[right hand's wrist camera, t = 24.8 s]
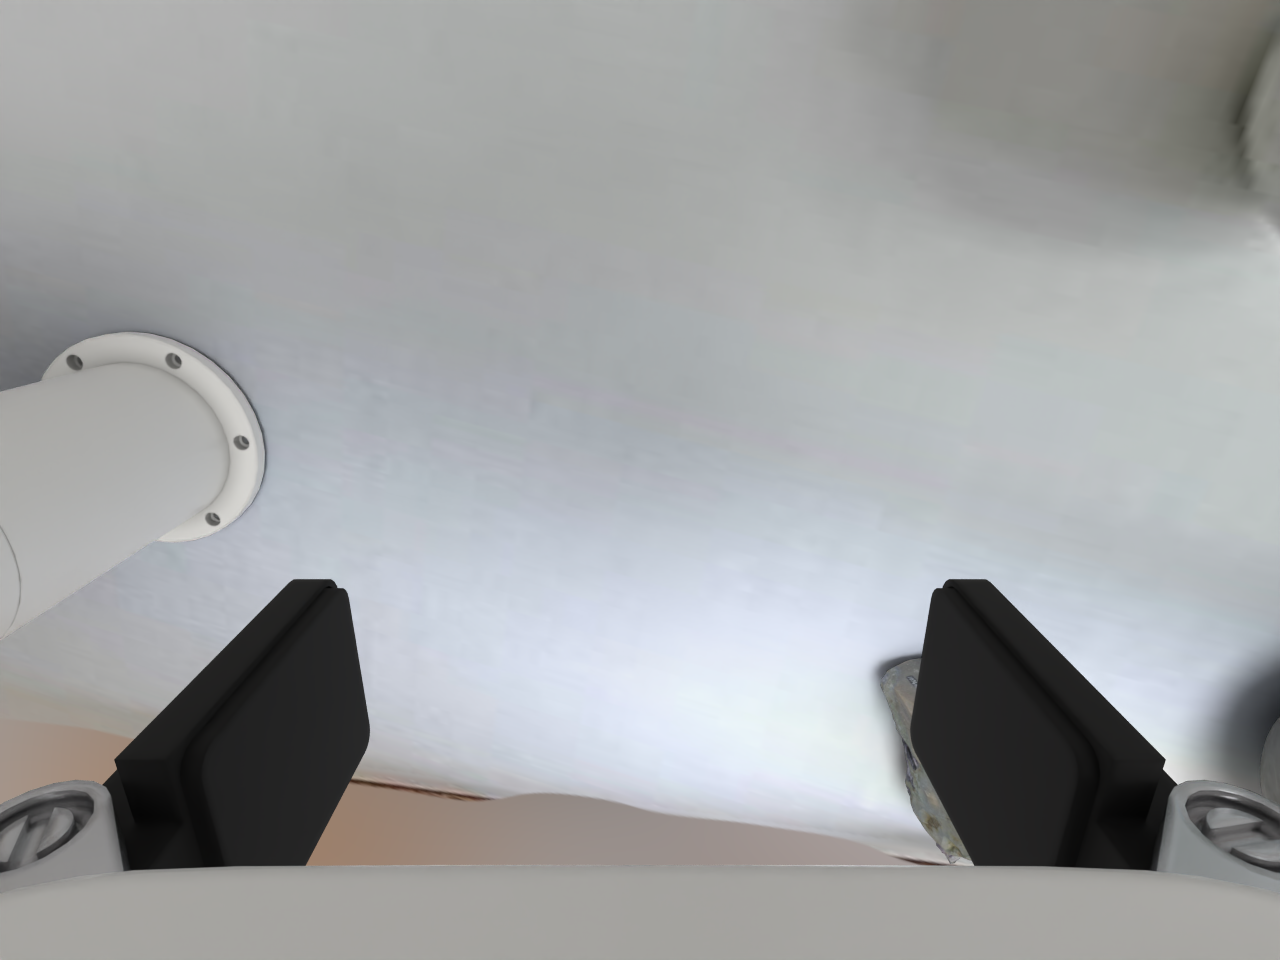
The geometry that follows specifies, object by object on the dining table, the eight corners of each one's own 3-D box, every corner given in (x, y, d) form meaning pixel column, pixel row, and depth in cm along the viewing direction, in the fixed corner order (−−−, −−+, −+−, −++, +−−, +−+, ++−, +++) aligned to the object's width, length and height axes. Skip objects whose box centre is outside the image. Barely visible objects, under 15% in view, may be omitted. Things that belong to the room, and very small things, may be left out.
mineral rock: (952, 817, 51) (1023, 952, 41) (817, 783, 50) (858, 913, 40) (1039, 677, 47) (1140, 791, 37) (893, 635, 45) (959, 742, 36)
